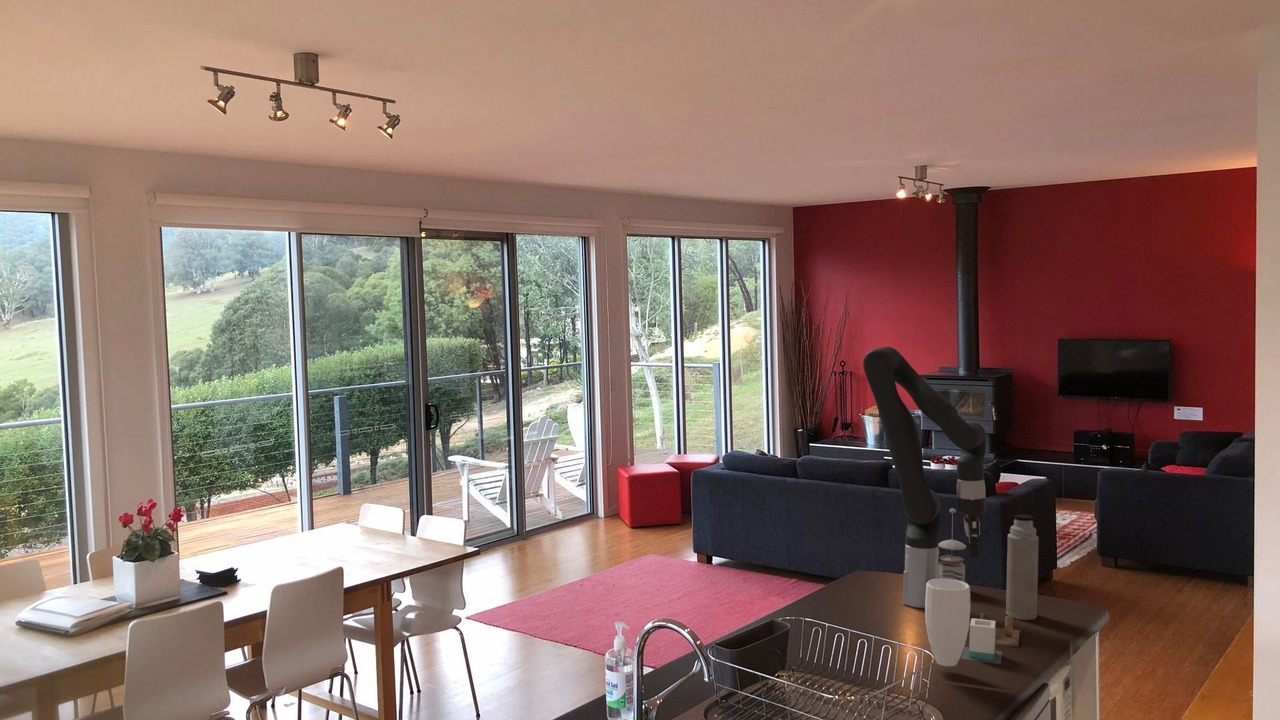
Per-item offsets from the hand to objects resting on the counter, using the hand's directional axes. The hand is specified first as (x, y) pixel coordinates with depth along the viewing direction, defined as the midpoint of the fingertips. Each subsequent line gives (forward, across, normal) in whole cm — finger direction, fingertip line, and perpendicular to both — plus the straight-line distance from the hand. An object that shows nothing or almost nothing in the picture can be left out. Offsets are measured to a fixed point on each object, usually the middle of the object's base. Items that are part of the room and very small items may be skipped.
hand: (972, 553), depth 272 cm
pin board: (+18, +19, +4) cm, 26 cm away
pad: (+17, +33, -2) cm, 38 cm away
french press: (+18, -23, -5) cm, 30 cm away
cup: (+17, +47, -11) cm, 51 cm away
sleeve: (+17, +33, -2) cm, 37 cm away
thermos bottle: (+18, -3, +13) cm, 22 cm away
